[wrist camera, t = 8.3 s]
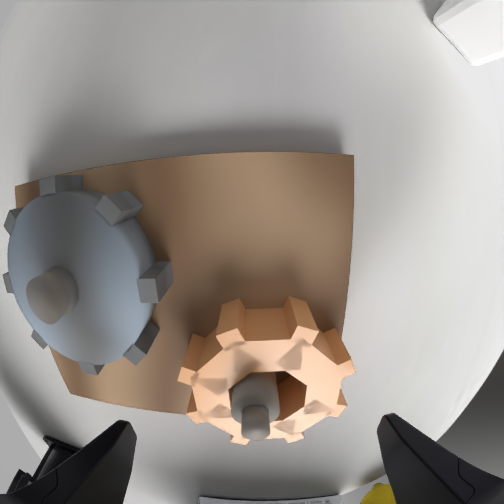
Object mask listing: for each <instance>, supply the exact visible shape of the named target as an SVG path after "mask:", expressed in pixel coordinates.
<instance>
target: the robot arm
mask: <svg viewBox="0 0 504 504" xmlns="http://www.w3.org/2000/svg"><path fill="white" fill-rule="evenodd" d="M377 435H378V440H379V444H380V449H381V454H382V459H383V463H384V467H385V470H386V473H387V476H388V479H389V482H390V485H391V488H392V492H393V495H394V498H395V501H396V504H504V479H502V478H499V477H497V476H494V475H491V474H490V473H487V472H485V471H483V470H481V469H479V468H477V467H475V466H473V465H471V464H469V463H467V462H466V461H464V460H463V459H461V458H458V457H457V456H456V455H455V454H453V453H452V452H450V451H449V450H447V449H446V448H444V447H442V446H441V445H440V444H438V443H437V442H435V441H434V440H432V439H431V438H429V437H428V436H426V435H425V434H423V433H422V432H421V431H419V430H418V429H416V428H415V427H413V426H412V425H411V424H409V423H408V422H406V421H405V420H403V419H402V418H401V417H399V416H398V415H396V414H395V413H390V414H386V415H384V416H383V417H382V419H381V421H380V424H379V426H378V428H377ZM43 440H44V441H45V442H46V443H47V445H48V446H49V449H48V450H47V452H46V454H45V456H44V457H43V459H42V461H41V463H40V465H39V466H38V468H37V470H36V472H35V473H34V475H33V477H31V475H30V474H29V473H25V472H23V471H22V470H20V469H19V470H18V472H17V473H16V475H15V477H14V479H13V481H12V483H11V484H10V487H9V489H8V491H7V493H6V494H0V504H123V501H124V497H125V494H126V490H127V486H128V483H129V479H130V475H131V471H132V465H133V459H134V452H135V446H136V440H137V437H136V433H135V431H134V429H133V427H132V425H131V423H130V422H128V421H124V420H118V421H117V422H115V423H114V424H113V425H111V426H110V427H109V428H108V429H106V430H105V431H104V432H103V433H101V434H100V435H99V436H97V437H96V438H95V439H94V440H92V441H91V442H90V443H88V444H87V445H86V446H84V447H83V448H82V449H81V450H79V449H77V448H74V447H71V446H69V445H66V444H64V443H61V442H59V441H56V440H54V439H52V438H49V437H47V436H44V437H43Z"/></svg>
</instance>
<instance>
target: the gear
mask: <svg viewBox="0 0 504 504" xmlns="http://www.w3.org/2000/svg"><path fill="white" fill-rule="evenodd" d="M272 371H286V372H288V373H289V374H291V376H290V377H288V378H287V379H286V380H285V381H283V382H282V383H280V384H279V385H277V391H278V400H279V408H280V414H279V416H278V418H277V419H276V420H275V421H273V422H272V423H270V435H269V436H268V437H267V438H265V439H273V438H285V439H286V441H287V442H288V443H291V442H294V441H297V440H301V439H304V434H303V431H304V430H306V429H308V428H309V427H311V426H313V425H314V424H316V423H317V422H319V421H320V420H322V419H323V418H325V417H326V416H331V417H339V415H340V414H341V413H342V412H343V410H344V409H345V408H346V407H347V404H346V401H345V398H344V396H343V393H342V391H341V388H340V387H341V382H342V379H343V378H345V377H347V376H350V375H352V374H354V373H356V372H355V369H354V365H353V362H352V359H351V357H350V355H349V353H348V351H347V349H346V348H345V346H344V344H343V342H342V340H341V338H340V336H339V334H338V332H337V330H336V329H335V328H333V329H331V330H329V331H326V332H324V333H323V332H322V331H320V330H319V329H318V328H317V326H316V323H315V321H314V319H313V316H312V314H311V312H310V309H309V307H308V305H307V302H306V301H303V300H300V299H297V298H294V297H291V296H288V298H287V300H286V302H285V305H284V307H283V308H265V309H245V307H244V305H243V303H242V301H241V299H240V298H237V299H235V300H233V301H230V302H228V303H225V304H223V305H222V307H221V312H220V317H219V322H218V326H217V327H216V328H215V329H214V330H213V331H212V332H211V333H210V334H209V335H208V336H207V337H206V338H205V337H202V336H199V335H196V334H193V335H192V338H191V340H190V343H189V346H188V349H187V352H186V355H185V358H184V361H183V364H182V367H181V370H180V374H179V377H178V380H177V381H179V382H182V383H185V384H188V385H191V386H192V391H191V395H190V400H189V404H188V408H187V412H186V414H187V415H188V416H189V417H190V418H191V419H192V420H193V421H194V422H195V424H198V423H203V422H209V423H210V424H212V425H214V426H216V427H218V428H220V429H221V430H223V431H225V432H227V433H229V434H231V439H230V442H233V443H238V444H243V445H247V444H248V442H249V441H250V440H249V439H246V438H244V437H243V436H242V434H241V424H240V423H238V422H237V421H235V420H234V419H233V417H232V415H231V402H232V388H233V385H235V384H236V383H237V382H239V381H240V380H241V379H243V378H244V377H245V376H247V375H248V374H249V373H250V372H272Z"/></svg>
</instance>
